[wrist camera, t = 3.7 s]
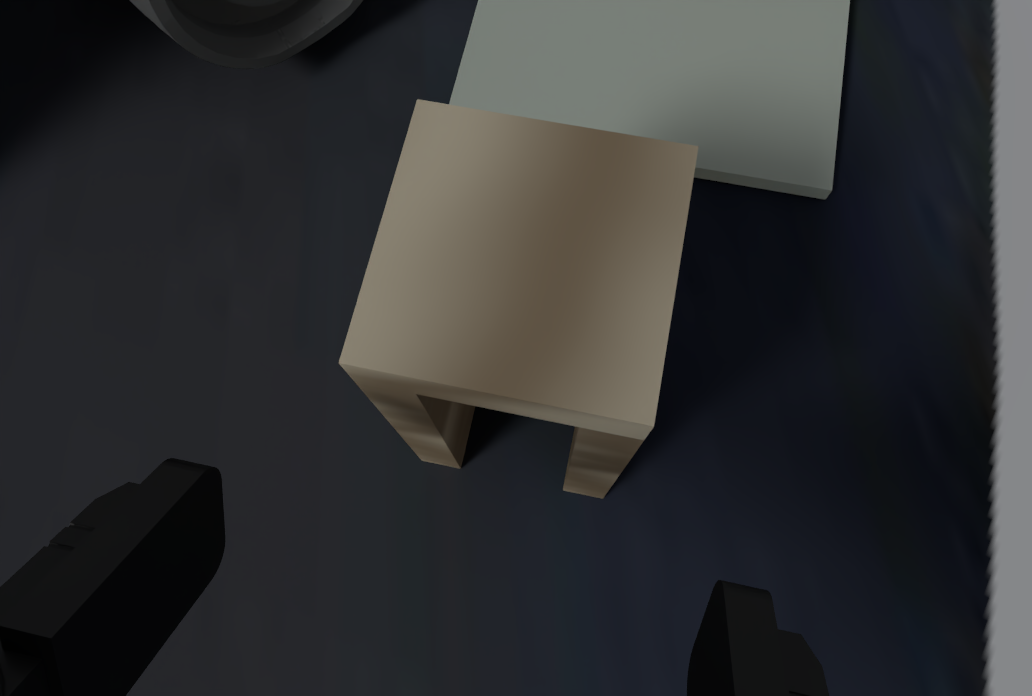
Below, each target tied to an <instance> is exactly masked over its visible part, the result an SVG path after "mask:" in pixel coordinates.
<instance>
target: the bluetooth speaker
mask: <svg viewBox="0 0 1032 696" xmlns="http://www.w3.org/2000/svg"><path fill="white" fill-rule="evenodd" d="M130 1H131V2H132V3H133V4H134V5H135V6H136V7H137V8H138V9H139V10H140V11H141V12H142V13H143V14H144V15H145V16H147V17H148V18H149V19H150V20H151V21H152V22H154V23H155V24H156V25H157V26H158V27H159V28H160V29H161V30H162V31H164V32H165V33H166V34H167V35H168V36H170V37H171V38H172V39H173V40H175V41H176V42H177V43H178V44H179V45H181V46H182V47H183V48H184V49H186V50H187V51H189V52H190V53H192V54H193V55H195V56H197V57H198V58H201V59H203V60H205V61H207V62H210V63H213V64H216V65H220V66H223V67H229V68H237V69H254V68H263V67H267V66H271V65H275V64H278V63H280V62H282V61H284V60H286V59H288V58H290V57H292V56H294V55H295V54H297V53H299V52H300V51H302V50H304V49H305V48H307V47H308V46H310V45H312V44H313V43H315V42H316V41H318V40H319V39H321V38H322V37H323V36H325V35H326V34H328V33H329V32H330V31H332V30H333V29H334V28H336V27H337V26H338V25H340V24H341V23H343V22H344V21H345V20H346V19H347V18H348V17H350V16H351V15H352V13H353V12H354V11H355V10H356V9H357V7H358V6H359V5H360V4H361V2H362V1H363V0H130Z"/></svg>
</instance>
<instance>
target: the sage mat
mask: <svg viewBox="0 0 1032 696" xmlns="http://www.w3.org/2000/svg"><path fill="white" fill-rule="evenodd" d="M849 6H850V0H478V4H477V7H476V11H475V14H474V18H473V21H472V25H471V29H470V32H469V36H468V39H467V43H466V46H465V50H464V53H463V57H462V60H461V64H460V67H459V71H458V75H457V78H456V82H455V85H454V89H453V92H452V96H451V99H450V103H449V105H455V106H461V107H467V108H473V109H479V110H485V111H491V112H497V113H503V114H509V115H515V116H521V117H526V118H532V119H538V120H544V121H550V122H556V123H562V124H568V125H574V126H580V127H586V128H592V129H598V130H604V131H610V132H616V133H622V134H628V135H634V136H640V137H646V138H652V139H658V140H664V141H670V142H676V143H682V144H688V145H694V146H699V147H698V153H697V160H696V166H695V172H694V177H695V178H701V179H707V180H713V181H719V182H725V183H731V184H736V185H742V186H748V187H754V188H760V189H766V190H772V191H777V192H783V193H789V194H795V195H801V196H807V197H813V198H819V199H824V200H825V199H826V198H827V197H828V195H829V194H830V193H831V191H832V187H833V176H834V165H835V155H836V144H837V133H838V123H839V112H840V102H841V91H842V80H843V70H844V59H845V48H846V38H847V27H848V16H849Z"/></svg>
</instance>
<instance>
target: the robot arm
mask: <svg viewBox="0 0 1032 696" xmlns="http://www.w3.org/2000/svg"><path fill="white" fill-rule="evenodd" d="M224 548H225V525H224V509H223V493H222V479H221V474H220V471H219V470H218V469H217V468H215V467H211V466H207V465H202V464H197V463H193V462H188V461H184V460H179V459H175V458H170V459H167V460H165V461H164V462H163V463H161V464H160V465H159V466H158V467H157V468H156V469H155V470H154V471H153V472H152V473H151V474H150V475H149V476H148V477H147V478H146V479H145V480H144V481H143V482H142V483H141V484H136V483H131V482H128V483H126V484H124V485H122V486H120V487H118V488H116V489H114V490H112V491H111V492H109V493H107V494H105V495H103V496H101V497H99V498H97V499H95V500H94V501H93V502H92V503H91V504H90V505H89V506H88V507H86V508H85V509H84V510H83V511H82V512H81V513H80V514H79V515H78V516H77V517H76V518H75V519H73V520H72V521H71V522H70V526H69V527H65V528H64V529H63V530H62V531H61V532H59V533H58V534H57V535H56V536H55V537H54V538H53V539H52V540H51V541H50V544H49V546H48V547H45V546H44V547H43V548H42V549H41V550H40V551H39V552H38V553H37V554H36V555H35V556H34V557H32V558H31V559H30V560H29V561H28V562H27V563H26V564H25V565H24V566H23V567H22V568H21V569H19V570H18V571H17V572H16V573H15V574H14V575H13V576H12V577H11V578H10V579H9V580H8V581H7V582H5V583H4V584H3V585H2V586H1V587H0V696H126V695H127V693H128V692H129V691H130V689H131V688H132V686H133V685H134V684H135V682H136V681H137V680H138V678H139V677H140V676H141V674H142V673H143V672H144V670H145V669H146V668H147V666H148V665H149V664H150V662H151V661H152V660H153V658H154V657H155V655H156V654H157V653H158V651H159V650H160V649H161V647H162V646H163V645H164V643H165V642H166V641H167V639H168V638H169V637H170V635H171V634H172V633H173V631H174V630H175V629H176V627H177V626H178V625H179V623H180V622H181V620H182V619H183V618H184V616H185V615H186V614H187V612H188V611H189V610H190V608H191V607H192V606H193V604H194V603H195V602H196V600H197V599H198V598H199V596H200V595H201V594H202V592H203V591H204V589H205V588H206V587H207V585H208V584H209V583H210V581H211V580H212V579H213V577H214V575H215V574H216V572H217V570H218V568H219V565H220V563H221V560H222V557H223V553H224ZM687 696H829V693H828V689H827V685H826V681H825V676H824V672H823V668H822V666H821V664H820V663H819V661H818V660H817V658H816V657H815V655H814V654H813V652H812V651H811V649H810V648H809V646H808V644H807V643H806V641H805V640H804V638H803V637H802V635H801V634H796V633H792V632H787V631H783V630H778V629H777V623H776V618H775V612H774V607H773V602H772V597H771V595H770V593H769V591H767V590H763V589H758V588H754V587H749V586H745V585H740V584H736V583H731V582H726V581H722V580H718V581H717V582H716V584H715V586H714V588H713V591H712V594H711V597H710V600H709V602H708V605H707V608H706V611H705V614H704V617H703V620H702V623H701V626H700V629H699V632H698V634H697V637H696V640H695V643H694V646H693V649H692V653H691V658H690V663H689V669H688V679H687Z"/></svg>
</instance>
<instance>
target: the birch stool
mask: <svg viewBox="0 0 1032 696" xmlns="http://www.w3.org/2000/svg"><path fill="white" fill-rule="evenodd" d="M698 147H699V146H694V145H688V144H682V143H676V142H670V141H664V140H658V139H652V138H646V137H640V136H634V135H628V134H622V133H616V132H610V131H604V130H598V129H592V128H586V127H580V126H574V125H568V124H562V123H556V122H550V121H544V120H538V119H532V118H526V117H521V116H515V115H509V114H503V113H497V112H491V111H485V110H479V109H473V108H467V107H461V106H455V105H449V104H443V103H437V102H431V101H425V100H419V99H417V102H416V106H415V109H414V112H413V116H412V119H411V122H410V126H409V129H408V132H407V136H406V139H405V142H404V146H403V149H402V152H401V156H400V159H399V163H398V166H397V169H396V173H395V176H394V179H393V183H392V186H391V189H390V193H389V196H388V199H387V203H386V206H385V209H384V213H383V216H382V220H381V223H380V226H379V230H378V233H377V236H376V240H375V243H374V246H373V250H372V253H371V256H370V260H369V263H368V266H367V270H366V273H365V277H364V280H363V283H362V287H361V290H360V293H359V297H358V300H357V303H356V307H355V310H354V313H353V317H352V320H351V323H350V327H349V330H348V333H347V337H346V340H345V344H344V347H343V350H342V354H341V357H340V360H339V364H340V365H341V366H342V367H343V369H344V370H345V371H346V372H347V373H348V374H349V376H350V377H351V378H352V379H353V380H354V382H355V383H356V384H357V385H358V386H359V387H360V389H361V390H362V391H363V392H364V393H365V394H366V396H367V397H368V398H369V399H370V400H371V401H372V403H373V404H374V405H375V406H376V407H377V408H378V410H379V411H380V412H381V413H382V414H383V415H384V417H385V418H386V419H387V420H388V421H389V423H390V424H391V425H392V426H393V427H394V428H395V430H396V431H397V432H398V433H399V434H400V435H401V437H402V438H403V439H404V440H405V441H406V442H407V444H408V445H409V446H410V447H411V448H412V449H413V451H414V452H415V453H416V454H417V455H418V457H419V458H420V459H421V460H422V461H427V462H431V463H436V464H441V465H446V466H450V467H455V468H460V469H461V465H462V461H463V457H464V453H465V448H466V444H467V440H468V436H469V431H470V427H471V423H472V419H473V414H474V410H475V406H477V407H482V408H487V409H492V410H497V411H502V412H507V413H512V414H517V415H522V416H527V417H531V418H536V419H541V420H546V421H551V422H556V423H561V424H566V425H571V426H575V429H574V434H573V439H572V445H571V450H570V455H569V460H568V465H567V471H566V476H565V481H564V486H563V490H564V491H569V492H574V493H578V494H583V495H588V496H593V497H597V498H602V499H603V498H604V496H605V495H606V494H607V492H608V491H609V489H610V488H611V487H612V485H613V484H614V482H615V481H616V479H617V478H618V477H619V475H620V474H621V472H622V471H623V470H624V468H625V467H626V465H627V464H628V462H629V461H630V460H631V458H632V457H633V455H634V454H635V453H636V451H637V450H638V448H639V447H640V446H641V444H642V443H643V441H644V440H645V438H646V437H647V436H648V434H649V433H650V431H651V430H652V429H653V427H654V424H655V417H656V411H657V405H658V399H659V392H660V386H661V380H662V373H663V367H664V361H665V354H666V348H667V342H668V336H669V329H670V323H671V317H672V310H673V304H674V298H675V292H676V285H677V279H678V273H679V266H680V260H681V254H682V248H683V241H684V235H685V229H686V222H687V216H688V210H689V204H690V197H691V191H692V185H693V178H694V172H695V166H696V160H697V153H698Z"/></svg>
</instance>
